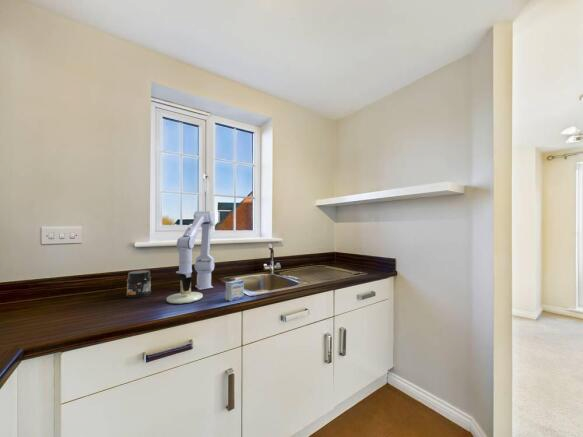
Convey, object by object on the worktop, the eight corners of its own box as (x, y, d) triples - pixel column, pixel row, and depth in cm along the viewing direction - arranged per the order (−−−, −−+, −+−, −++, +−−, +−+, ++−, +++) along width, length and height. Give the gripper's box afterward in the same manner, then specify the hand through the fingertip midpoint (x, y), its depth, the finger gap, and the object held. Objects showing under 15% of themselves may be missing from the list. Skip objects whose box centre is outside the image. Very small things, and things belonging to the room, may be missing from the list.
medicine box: (231, 302, 115) (231, 283, 115) (225, 300, 117) (225, 282, 118) (244, 298, 121) (244, 280, 121) (238, 296, 124) (238, 279, 124)
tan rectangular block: (180, 293, 119) (180, 280, 119) (189, 291, 121) (189, 279, 122) (182, 294, 116) (182, 282, 116) (190, 293, 118) (191, 281, 118)
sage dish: (164, 298, 120) (164, 295, 120) (198, 293, 130) (198, 290, 130) (169, 307, 107) (169, 303, 107) (206, 300, 116) (206, 297, 116)
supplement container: (122, 296, 123) (122, 272, 124) (143, 291, 133) (143, 269, 133) (134, 299, 118) (134, 274, 119) (155, 294, 128) (155, 271, 128)
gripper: (173, 260, 123) (173, 287, 122) (179, 264, 111) (179, 294, 110) (188, 259, 127) (188, 285, 126) (195, 262, 115) (195, 292, 114)
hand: (185, 289), depth 119 cm, fingers closed on tan rectangular block, 4 cm apart
